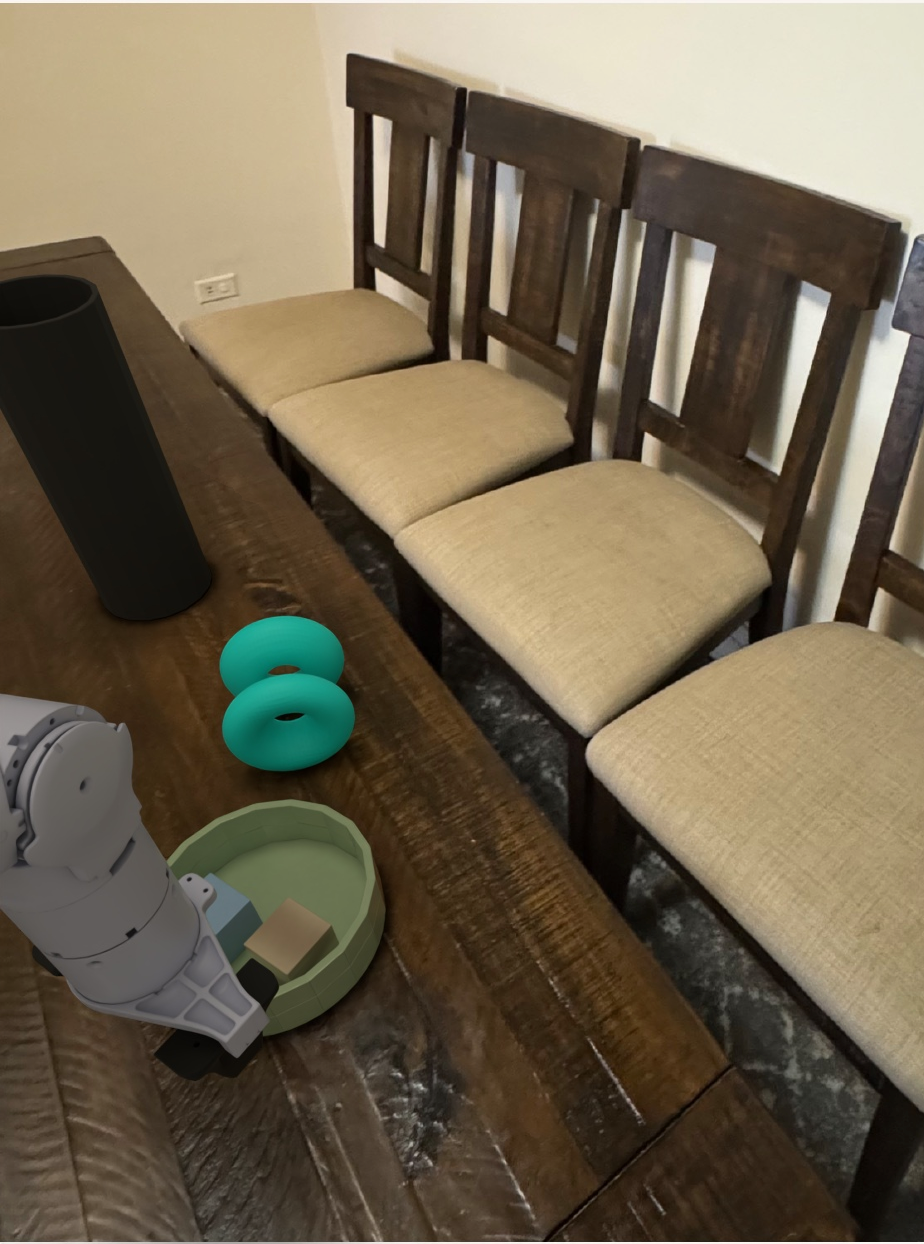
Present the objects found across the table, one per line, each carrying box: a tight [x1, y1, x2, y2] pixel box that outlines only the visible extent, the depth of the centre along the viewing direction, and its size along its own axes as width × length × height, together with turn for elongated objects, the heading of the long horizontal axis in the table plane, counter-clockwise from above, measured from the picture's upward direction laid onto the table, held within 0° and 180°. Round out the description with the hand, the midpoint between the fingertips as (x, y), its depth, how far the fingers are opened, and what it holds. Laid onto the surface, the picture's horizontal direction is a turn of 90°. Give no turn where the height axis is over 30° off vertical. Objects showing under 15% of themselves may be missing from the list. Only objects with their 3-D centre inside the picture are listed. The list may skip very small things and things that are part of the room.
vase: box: [0, 273, 213, 621], centre depth 77 cm, size 10×10×30 cm
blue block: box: [204, 873, 263, 964], centre depth 59 cm, size 4×4×4 cm
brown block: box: [244, 897, 339, 986], centre depth 58 cm, size 4×4×4 cm
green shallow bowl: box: [166, 798, 387, 1037], centre depth 60 cm, size 15×15×5 cm
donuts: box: [219, 615, 356, 772], centre depth 71 cm, size 10×10×10 cm
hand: (195, 1021), depth 47 cm, fingers open, 7 cm apart
